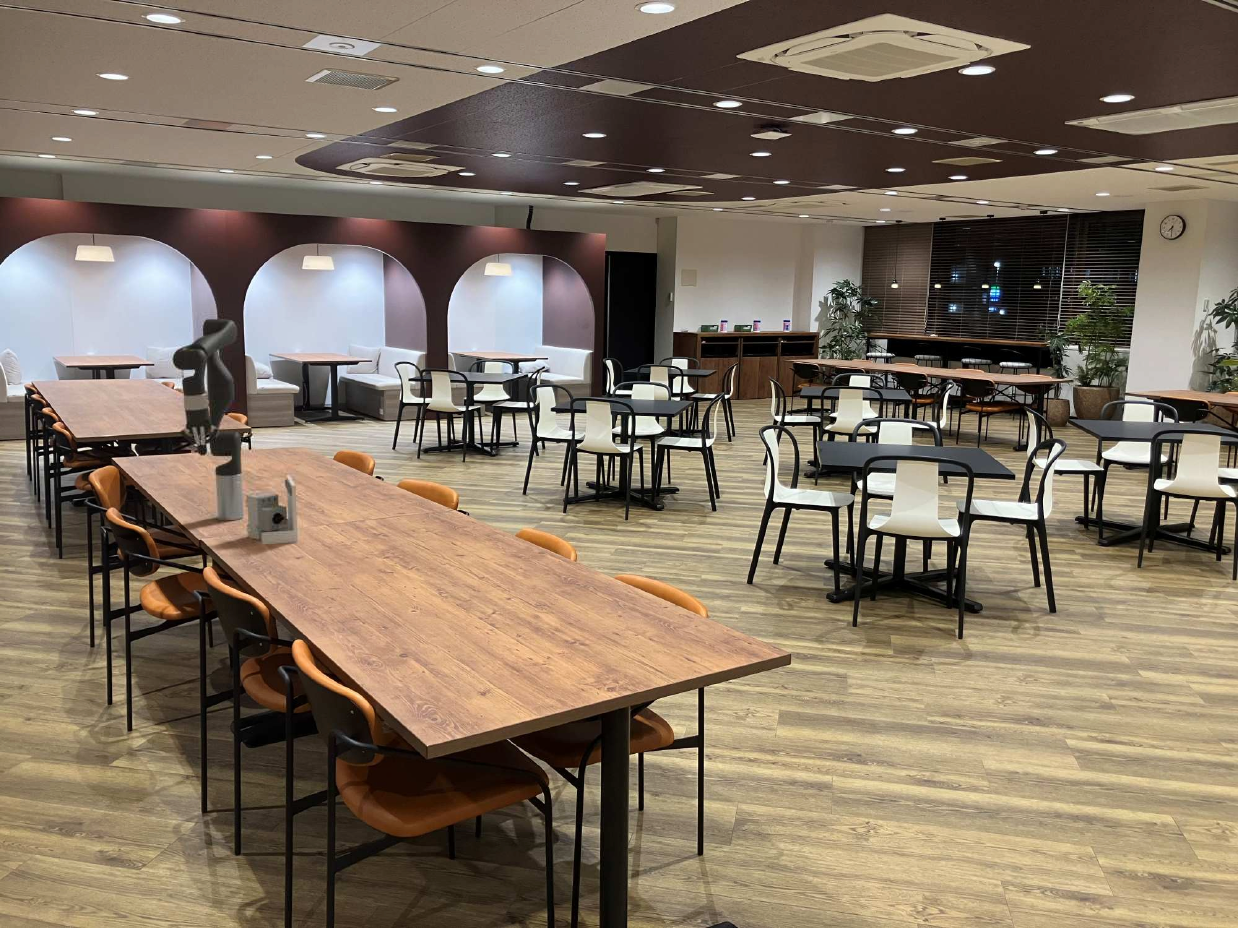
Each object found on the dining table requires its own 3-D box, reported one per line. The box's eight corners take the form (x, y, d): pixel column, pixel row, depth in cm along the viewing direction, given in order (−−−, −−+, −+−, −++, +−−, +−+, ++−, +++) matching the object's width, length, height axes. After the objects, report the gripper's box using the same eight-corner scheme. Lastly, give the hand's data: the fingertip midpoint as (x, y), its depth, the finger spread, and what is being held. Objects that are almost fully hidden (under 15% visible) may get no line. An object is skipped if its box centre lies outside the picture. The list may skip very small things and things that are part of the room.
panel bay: (257, 531, 356) (255, 477, 352) (291, 529, 360) (289, 475, 357) (262, 544, 338) (259, 487, 334) (297, 541, 342) (295, 485, 339)
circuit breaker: (272, 542, 340) (270, 500, 338) (247, 536, 349) (245, 495, 346) (290, 538, 347) (289, 497, 344) (265, 532, 355) (264, 491, 352)
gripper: (218, 403, 345) (224, 450, 350) (177, 405, 342) (184, 453, 347) (215, 407, 338) (221, 456, 343) (173, 410, 335) (180, 459, 340)
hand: (203, 454), depth 345 cm, fingers closed
